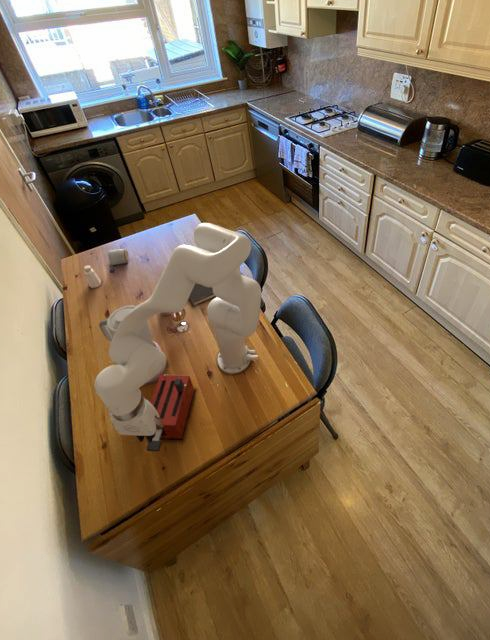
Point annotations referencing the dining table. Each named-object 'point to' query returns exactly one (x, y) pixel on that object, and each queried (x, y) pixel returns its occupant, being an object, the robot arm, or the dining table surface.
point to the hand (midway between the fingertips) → (147, 436)
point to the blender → (143, 334)
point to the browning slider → (179, 385)
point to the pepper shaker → (92, 277)
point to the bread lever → (155, 442)
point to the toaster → (173, 405)
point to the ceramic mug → (118, 256)
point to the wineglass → (180, 320)
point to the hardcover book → (200, 294)
